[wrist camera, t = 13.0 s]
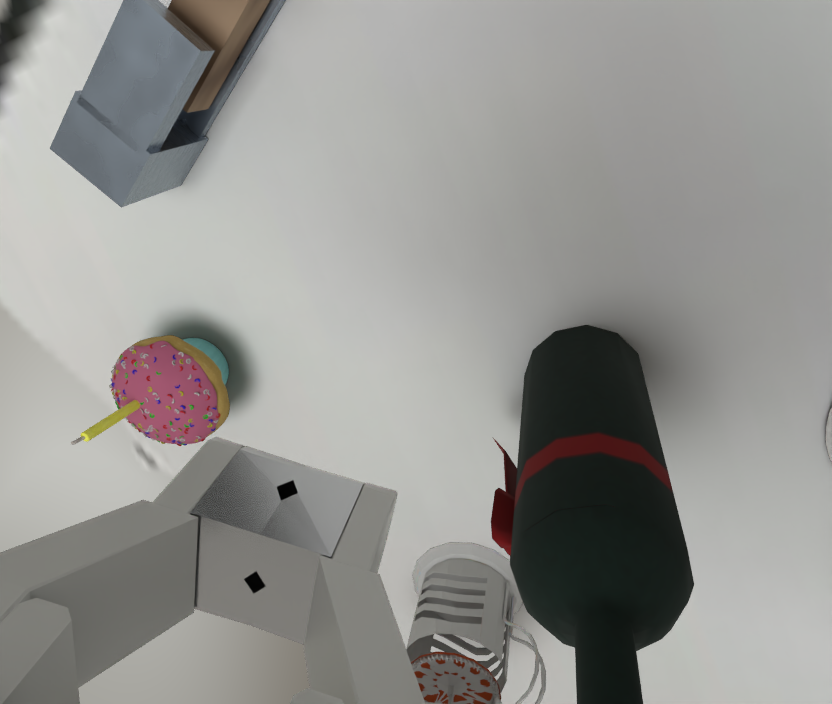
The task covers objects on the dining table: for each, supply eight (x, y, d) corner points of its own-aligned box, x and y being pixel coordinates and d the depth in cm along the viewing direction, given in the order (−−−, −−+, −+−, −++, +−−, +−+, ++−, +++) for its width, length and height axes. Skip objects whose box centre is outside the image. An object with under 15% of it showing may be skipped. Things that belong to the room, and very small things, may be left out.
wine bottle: (475, 369, 43) (351, 870, 17) (611, 304, 39) (725, 831, 13) (529, 452, 45) (494, 1012, 19) (663, 399, 41) (852, 1016, 15)
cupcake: (154, 395, 50) (48, 488, 40) (148, 302, 46) (29, 377, 36) (252, 420, 49) (170, 521, 39) (254, 327, 45) (163, 411, 35)
